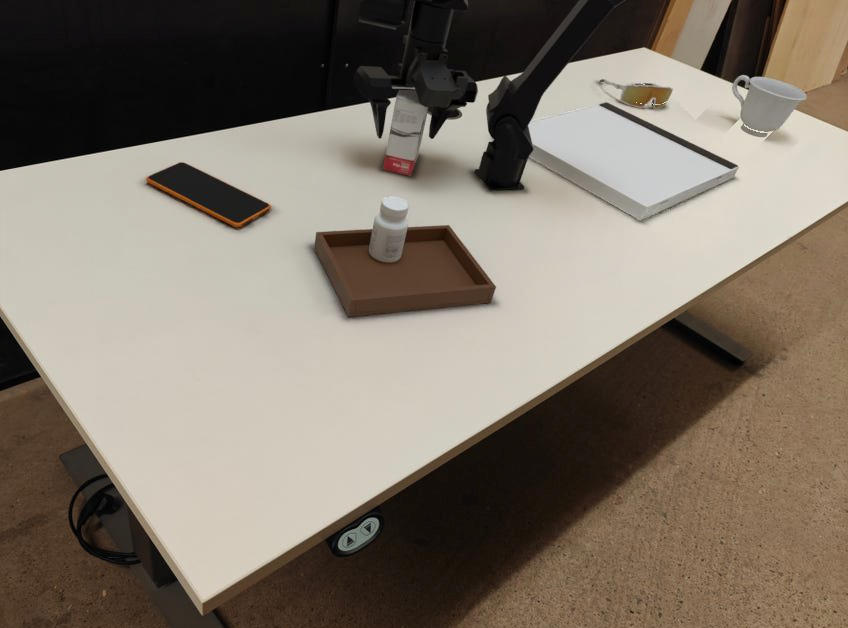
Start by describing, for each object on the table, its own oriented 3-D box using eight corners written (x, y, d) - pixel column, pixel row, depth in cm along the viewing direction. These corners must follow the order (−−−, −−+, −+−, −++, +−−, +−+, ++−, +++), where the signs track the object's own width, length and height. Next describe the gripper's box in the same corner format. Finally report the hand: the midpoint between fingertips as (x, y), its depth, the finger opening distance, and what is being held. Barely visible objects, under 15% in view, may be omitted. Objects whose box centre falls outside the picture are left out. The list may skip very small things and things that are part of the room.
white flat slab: (605, 101, 142) (740, 165, 127) (601, 112, 144) (733, 177, 129) (502, 127, 122) (646, 207, 107) (498, 139, 124) (640, 220, 109)
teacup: (725, 111, 158) (748, 68, 151) (787, 137, 151) (814, 93, 145) (706, 121, 151) (729, 76, 144) (770, 148, 144) (797, 102, 138)
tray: (444, 240, 95) (449, 224, 93) (491, 302, 85) (496, 287, 84) (313, 248, 88) (316, 231, 86) (348, 317, 79) (351, 300, 77)
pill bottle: (406, 254, 90) (418, 203, 84) (390, 268, 87) (401, 215, 81) (379, 241, 91) (389, 190, 86) (361, 254, 88) (371, 201, 83)
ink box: (411, 177, 107) (426, 105, 100) (381, 170, 108) (394, 97, 100) (418, 155, 114) (433, 86, 106) (391, 149, 114) (404, 79, 106)
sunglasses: (623, 107, 148) (631, 84, 145) (588, 90, 160) (595, 68, 157) (676, 111, 152) (685, 88, 149) (639, 94, 163) (646, 72, 161)
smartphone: (237, 230, 88) (238, 224, 88) (144, 182, 93) (143, 177, 92) (273, 209, 93) (273, 203, 93) (182, 165, 98) (182, 160, 98)
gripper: (387, 53, 89) (367, 162, 99) (507, 60, 95) (477, 161, 106) (360, 24, 96) (344, 128, 107) (474, 32, 103) (448, 129, 113)
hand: (405, 137), depth 108 cm, fingers open, 9 cm apart
